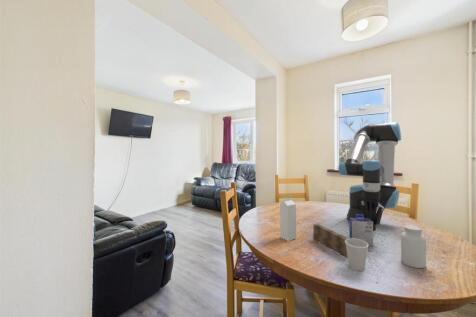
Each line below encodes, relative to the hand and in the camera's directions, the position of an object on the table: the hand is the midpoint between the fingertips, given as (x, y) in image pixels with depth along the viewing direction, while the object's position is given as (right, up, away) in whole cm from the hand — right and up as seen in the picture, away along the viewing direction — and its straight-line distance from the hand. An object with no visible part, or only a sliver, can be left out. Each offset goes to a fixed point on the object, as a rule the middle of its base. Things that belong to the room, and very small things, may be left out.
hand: (371, 236), depth 110 cm
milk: (-41, -4, +6) cm, 42 cm away
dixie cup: (-20, -4, -23) cm, 31 cm away
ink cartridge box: (-6, -3, -2) cm, 7 cm away
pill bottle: (+4, -4, -22) cm, 22 cm away
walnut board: (-23, -3, -6) cm, 24 cm away
